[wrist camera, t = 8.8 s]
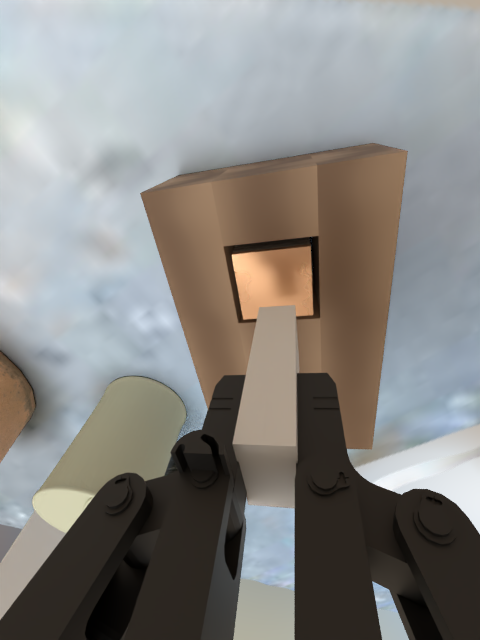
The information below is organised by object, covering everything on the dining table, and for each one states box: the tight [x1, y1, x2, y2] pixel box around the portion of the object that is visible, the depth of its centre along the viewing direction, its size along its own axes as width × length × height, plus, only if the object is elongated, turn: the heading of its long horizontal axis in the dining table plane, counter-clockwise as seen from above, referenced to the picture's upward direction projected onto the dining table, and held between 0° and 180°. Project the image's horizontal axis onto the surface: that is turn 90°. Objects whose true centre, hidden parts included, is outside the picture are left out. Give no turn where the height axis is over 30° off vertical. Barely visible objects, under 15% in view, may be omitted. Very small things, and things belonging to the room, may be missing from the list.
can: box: [32, 376, 186, 533], centre depth 28 cm, size 9×9×12 cm
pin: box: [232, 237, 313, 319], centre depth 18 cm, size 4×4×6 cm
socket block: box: [140, 143, 408, 449], centre depth 21 cm, size 12×20×6 cm, turn 9°
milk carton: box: [0, 511, 66, 620], centre depth 42 cm, size 7×7×19 cm
